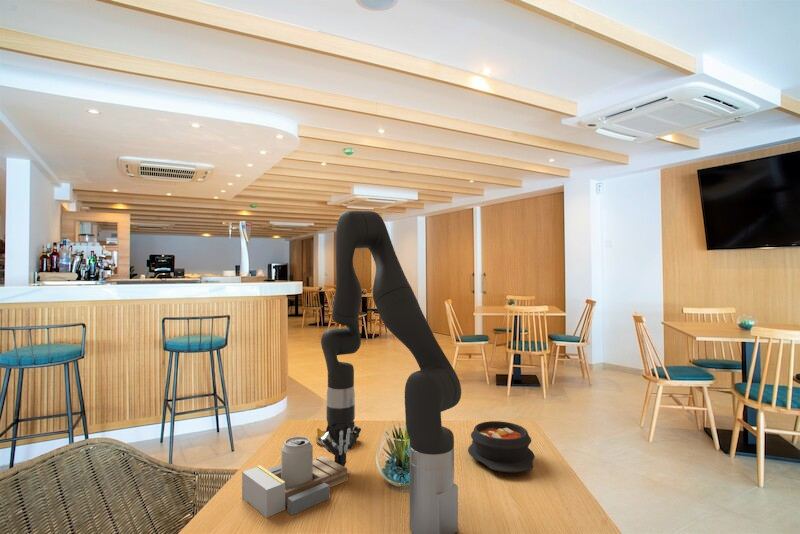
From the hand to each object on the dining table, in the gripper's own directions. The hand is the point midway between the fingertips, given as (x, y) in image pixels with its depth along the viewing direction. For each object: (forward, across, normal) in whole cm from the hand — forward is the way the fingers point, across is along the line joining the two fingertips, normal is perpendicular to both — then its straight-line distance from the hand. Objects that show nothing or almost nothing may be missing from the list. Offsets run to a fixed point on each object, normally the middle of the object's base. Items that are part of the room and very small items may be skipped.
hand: (340, 466), depth 116 cm
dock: (+1, -17, 0) cm, 17 cm away
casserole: (+1, +37, -26) cm, 46 cm away
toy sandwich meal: (+2, +12, +18) cm, 22 cm away
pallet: (+1, -11, 0) cm, 11 cm away
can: (+1, -14, 0) cm, 14 cm away
